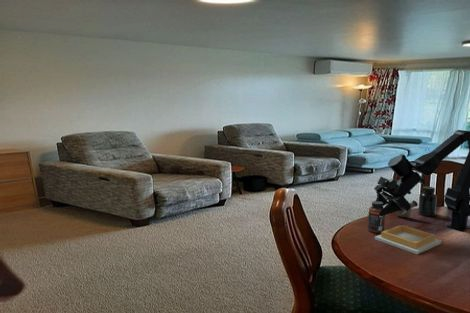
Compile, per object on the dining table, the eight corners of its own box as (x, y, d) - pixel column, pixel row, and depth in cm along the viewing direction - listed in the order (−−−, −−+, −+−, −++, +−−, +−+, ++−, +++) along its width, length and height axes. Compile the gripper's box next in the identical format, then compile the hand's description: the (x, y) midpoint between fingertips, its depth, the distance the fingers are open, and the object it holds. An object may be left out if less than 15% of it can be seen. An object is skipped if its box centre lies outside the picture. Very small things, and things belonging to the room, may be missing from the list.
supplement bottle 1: (385, 234, 144) (387, 205, 142) (368, 232, 146) (370, 204, 144) (382, 228, 150) (384, 200, 148) (366, 227, 151) (368, 199, 149)
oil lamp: (416, 218, 163) (418, 199, 161) (415, 220, 159) (417, 202, 158) (394, 214, 167) (395, 196, 166) (393, 217, 164) (394, 199, 163)
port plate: (399, 230, 148) (399, 222, 148) (441, 243, 136) (442, 235, 135) (374, 239, 139) (375, 231, 139) (417, 254, 126) (418, 245, 126)
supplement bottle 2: (437, 214, 168) (439, 187, 166) (432, 217, 163) (435, 190, 161) (420, 210, 173) (423, 185, 171) (415, 214, 168) (417, 187, 166)
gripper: (380, 165, 154) (352, 192, 154) (405, 175, 135) (374, 206, 136) (397, 183, 156) (369, 210, 156) (424, 196, 137) (393, 226, 138)
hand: (375, 212), depth 147 cm, fingers closed on supplement bottle 1, 6 cm apart
